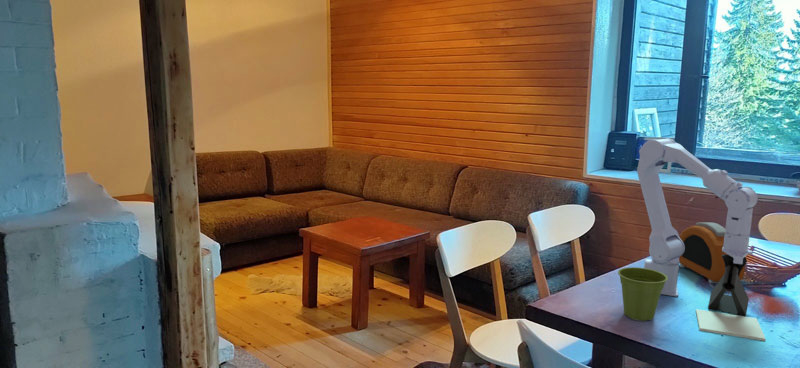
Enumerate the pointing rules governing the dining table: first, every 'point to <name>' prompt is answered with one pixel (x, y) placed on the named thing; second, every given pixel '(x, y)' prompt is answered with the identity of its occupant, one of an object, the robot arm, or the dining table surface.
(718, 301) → the phone stand
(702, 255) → the orange tape measure
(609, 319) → the dining table surface
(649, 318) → the plant pot
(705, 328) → the mat
